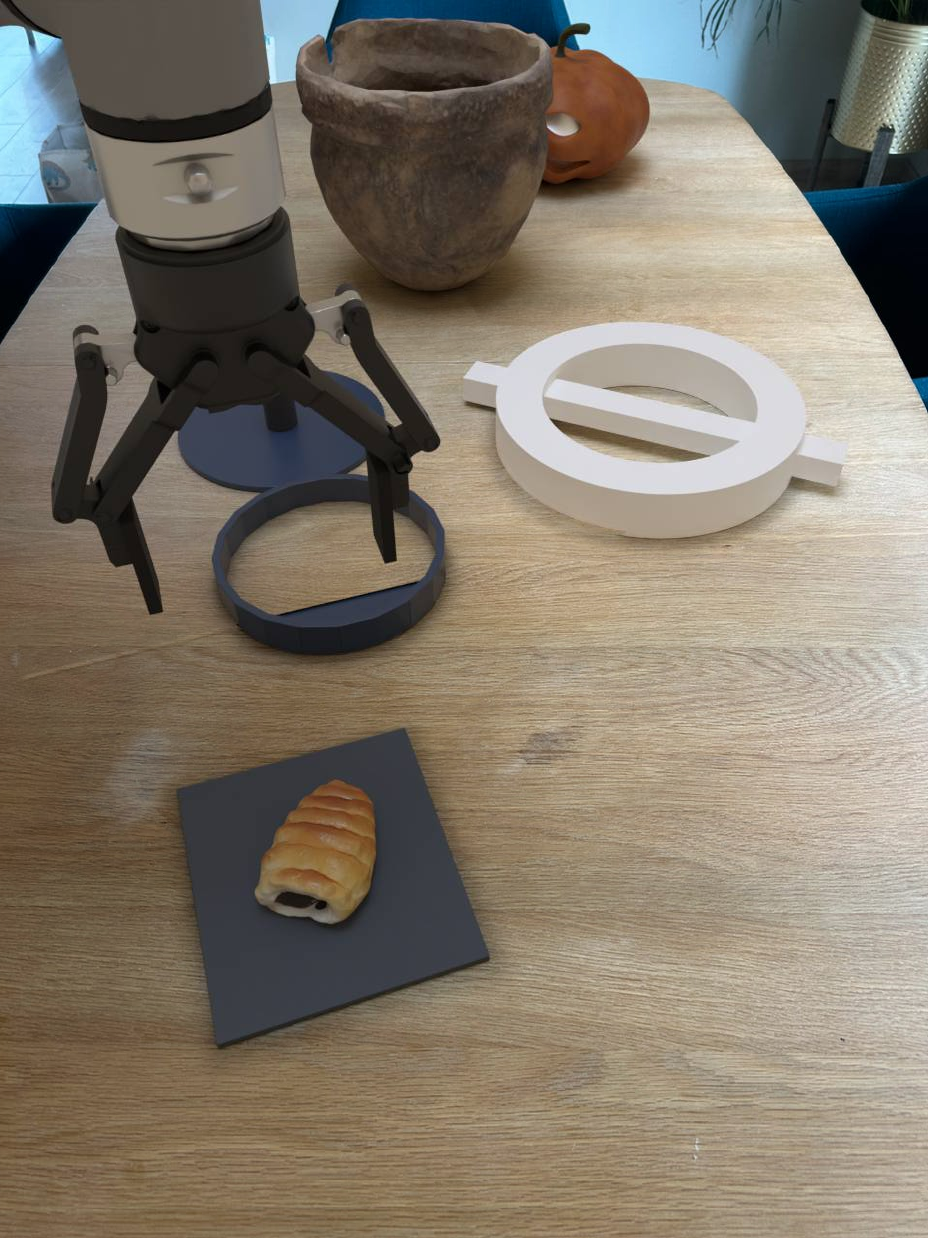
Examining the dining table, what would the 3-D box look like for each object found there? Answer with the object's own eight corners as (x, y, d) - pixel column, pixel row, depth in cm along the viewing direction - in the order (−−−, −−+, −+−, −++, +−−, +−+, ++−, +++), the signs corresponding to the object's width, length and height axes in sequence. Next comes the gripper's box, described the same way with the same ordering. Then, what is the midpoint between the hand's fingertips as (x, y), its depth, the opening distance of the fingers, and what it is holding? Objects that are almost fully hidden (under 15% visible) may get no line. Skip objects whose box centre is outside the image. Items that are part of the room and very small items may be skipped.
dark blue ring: (204, 527, 87) (197, 500, 85) (409, 483, 91) (407, 455, 89) (240, 680, 75) (233, 652, 72) (476, 621, 78) (475, 592, 76)
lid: (168, 399, 101) (147, 320, 95) (357, 363, 106) (349, 286, 99) (195, 517, 88) (173, 434, 82) (410, 471, 92) (405, 389, 86)
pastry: (301, 788, 67) (294, 754, 64) (398, 805, 66) (395, 771, 63) (252, 914, 61) (241, 882, 58) (359, 936, 60) (353, 904, 57)
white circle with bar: (453, 397, 101) (452, 355, 97) (696, 341, 107) (703, 300, 104) (572, 572, 82) (576, 527, 79) (857, 492, 89) (872, 448, 86)
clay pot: (287, 316, 113) (250, 74, 95) (369, 221, 130) (351, 1, 112) (512, 349, 107) (517, 99, 89) (566, 245, 124) (580, 17, 106)
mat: (178, 793, 68) (176, 788, 67) (405, 731, 71) (404, 727, 71) (218, 1048, 55) (216, 1045, 55) (489, 960, 59) (489, 956, 59)
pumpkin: (430, 167, 142) (424, 17, 129) (553, 122, 154) (559, -20, 140) (556, 221, 129) (565, 60, 115) (680, 167, 140) (701, 15, 127)
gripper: (-116, 299, 38) (53, 667, 53) (502, 208, 43) (495, 568, 58) (-102, 217, 43) (49, 576, 58) (451, 145, 48) (456, 492, 63)
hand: (272, 572), depth 58 cm, fingers open, 13 cm apart
